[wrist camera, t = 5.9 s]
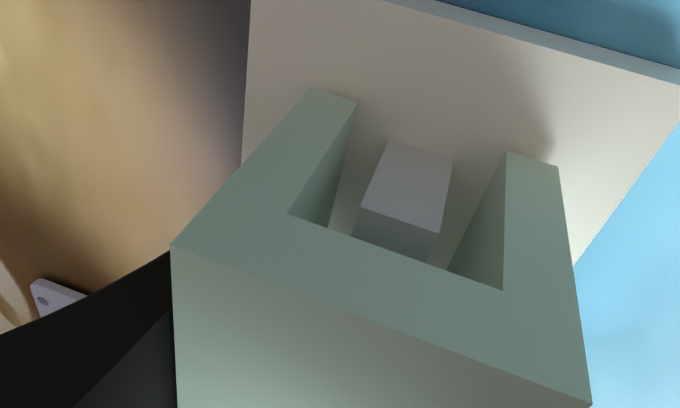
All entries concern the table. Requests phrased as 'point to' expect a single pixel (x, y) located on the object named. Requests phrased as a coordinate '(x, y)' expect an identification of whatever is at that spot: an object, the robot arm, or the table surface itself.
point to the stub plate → (455, 112)
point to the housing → (371, 291)
